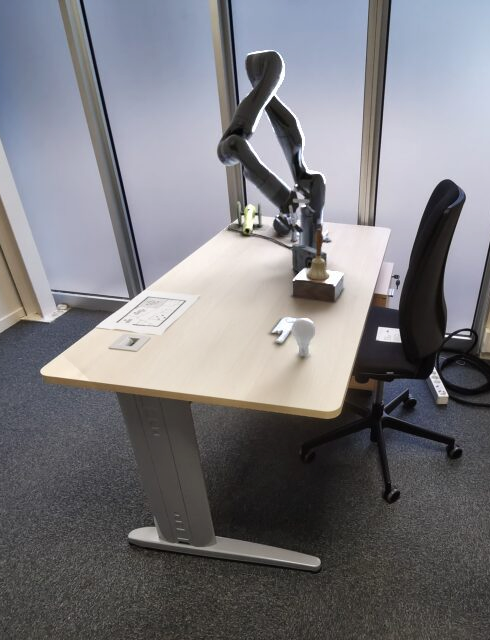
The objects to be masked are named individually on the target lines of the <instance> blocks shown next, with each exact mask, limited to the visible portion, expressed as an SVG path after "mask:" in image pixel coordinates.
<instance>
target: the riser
mask: <svg viewBox="0 0 490 640" xmlns="http://www.w3.org/2000/svg"><path fill="white" fill-rule="evenodd" d="M309 270H310V268H303V270H302V271H301V272H298V274H296V276H294V278H293V279H292V297H294V298H302V299H309V300H310V299H311V300H316V301H325V302H330V303H335V302H336V301H337V299H338V297H339V296H340V294H341V292H342V291H343V289H344V277H345V273H343V272H340V271H333V270H327V272H328V273H329V274H330V277H329V278H327V279H323V280H316V279H311V278H309V277H307V276H306V274H307V272H308V271H309Z"/></svg>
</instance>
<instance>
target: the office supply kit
mask: <svg viewBox="0 0 490 640" xmlns="http://www.w3.org/2000/svg"><path fill="white" fill-rule="evenodd" d="M289 215H290V214H289ZM283 217H284V220H285V221H286V222H287V223H288V220H287V218H286V214H283ZM298 219H299V216H298V212H297V211H296V212H295V213H294V221H295V224H297V223H298ZM288 224H289V223H288ZM272 227H273V231H274V232H275V233H276V234H277V235H279V236H282V237H283V236H288V235H289V234H290V233H291V242H296V241H297V240H298V237H299V232H297V231H296V230H295V229H293V228H291V229H290V230H289V229H285V228H284V227H283V226H282V225H281V224H280V223H279V222H278V221H277V220H276V219H275V218H274V219H273V221H272ZM328 232H329V231H328V230H326V231H324V233H323V234H322V235H323V242H327V243H329V242H330V241H331V238H330V237H327V234H328ZM297 236H298V237H297Z"/></svg>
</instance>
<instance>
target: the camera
mask: <svg viewBox="0 0 490 640" xmlns="http://www.w3.org/2000/svg"><path fill="white" fill-rule="evenodd" d="M291 247H292V248H291V256H292V257H291V258H292V270H294V271H296V272H298V273H300V272H301V271H302V270H303V268H311V265H312V260H313V259H315V258H316V251H317V250H316V249H314V248H311V247H308V246H305V245H302V244H300V243H299V242H298V243H296V244H292V245H291ZM327 255H328V254H327V252H324V251H323V250H322V251H321V258H322V259H323V260H324V261H325V266H326V267H327V257H328V256H327Z"/></svg>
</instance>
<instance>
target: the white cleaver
mask: <svg viewBox="0 0 490 640" xmlns="http://www.w3.org/2000/svg"><path fill="white" fill-rule="evenodd" d="M297 319H298V318H295V317H289V316H286V317H283V318H281V320H280V321H279V322H278V323H277V325H276V326H275V327H274V329H273V330H272V331H271V334H278V335H280V336H278V338H277V339H276V340H275V343H277V344H283V342H284V341H285V340H286V338H287V337H288V336H289V334H290V333H291V328H292V325H293V323H294V322H295V321H296V320H297Z"/></svg>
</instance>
